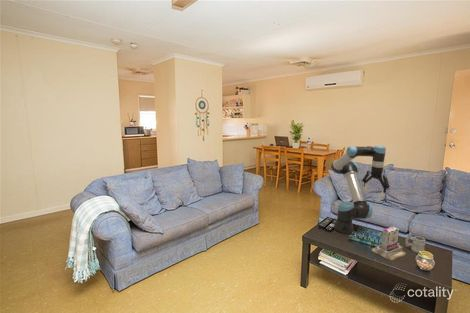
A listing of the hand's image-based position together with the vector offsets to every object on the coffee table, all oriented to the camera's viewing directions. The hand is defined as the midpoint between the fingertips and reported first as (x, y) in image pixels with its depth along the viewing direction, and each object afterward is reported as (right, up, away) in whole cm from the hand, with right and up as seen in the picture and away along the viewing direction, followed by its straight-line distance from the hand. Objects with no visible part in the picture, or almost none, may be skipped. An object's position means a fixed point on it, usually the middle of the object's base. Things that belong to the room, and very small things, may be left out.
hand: (373, 193), depth 186 cm
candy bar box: (+2, -38, -14) cm, 41 cm away
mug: (+24, -39, -10) cm, 47 cm away
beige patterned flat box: (+2, -40, -14) cm, 42 cm away
